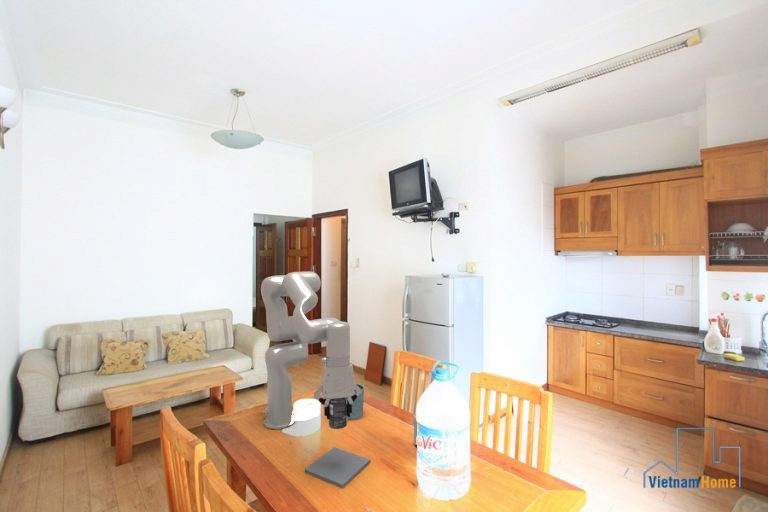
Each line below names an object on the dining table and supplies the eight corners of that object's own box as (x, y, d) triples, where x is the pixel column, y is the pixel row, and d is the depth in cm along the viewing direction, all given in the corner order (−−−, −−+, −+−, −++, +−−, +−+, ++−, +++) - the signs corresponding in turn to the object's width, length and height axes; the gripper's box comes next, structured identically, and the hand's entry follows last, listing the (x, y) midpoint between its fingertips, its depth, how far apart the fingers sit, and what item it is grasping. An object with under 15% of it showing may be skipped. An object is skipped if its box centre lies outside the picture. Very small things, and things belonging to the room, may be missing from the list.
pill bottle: (349, 422, 117) (350, 387, 117) (343, 431, 111) (343, 394, 111) (332, 420, 118) (333, 386, 118) (325, 428, 112) (325, 392, 112)
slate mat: (304, 472, 112) (304, 469, 112) (334, 449, 125) (334, 446, 125) (342, 488, 104) (342, 484, 104) (370, 462, 117) (370, 459, 117)
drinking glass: (363, 421, 146) (363, 392, 146) (338, 421, 147) (338, 391, 146) (364, 410, 157) (364, 383, 156) (342, 410, 157) (342, 383, 157)
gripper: (311, 366, 109) (311, 425, 109) (366, 362, 113) (366, 418, 113) (310, 359, 116) (310, 414, 116) (362, 355, 120) (362, 408, 120)
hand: (338, 415), depth 115 cm, fingers closed on pill bottle, 6 cm apart
